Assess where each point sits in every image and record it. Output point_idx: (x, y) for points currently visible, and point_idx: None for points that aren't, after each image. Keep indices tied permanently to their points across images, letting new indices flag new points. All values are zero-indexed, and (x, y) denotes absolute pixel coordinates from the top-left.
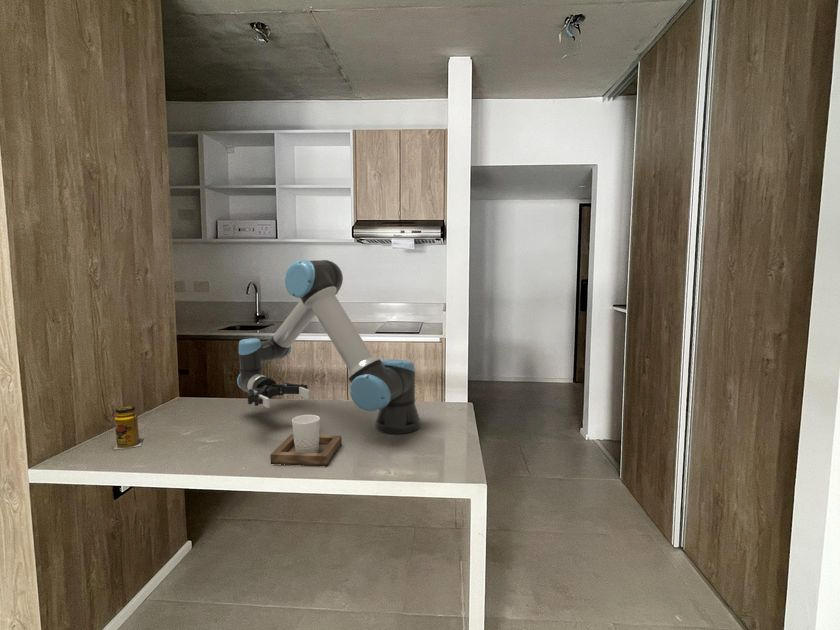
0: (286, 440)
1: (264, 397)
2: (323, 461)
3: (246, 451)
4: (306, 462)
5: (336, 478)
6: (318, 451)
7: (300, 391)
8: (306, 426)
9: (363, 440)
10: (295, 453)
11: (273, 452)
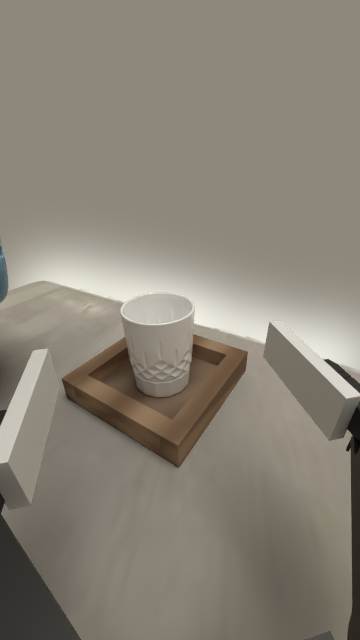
0: (202, 404)
1: (300, 342)
2: None
3: (328, 468)
4: None
5: None
6: None
7: (27, 456)
8: (167, 299)
9: (4, 402)
10: (196, 341)
11: (241, 356)
